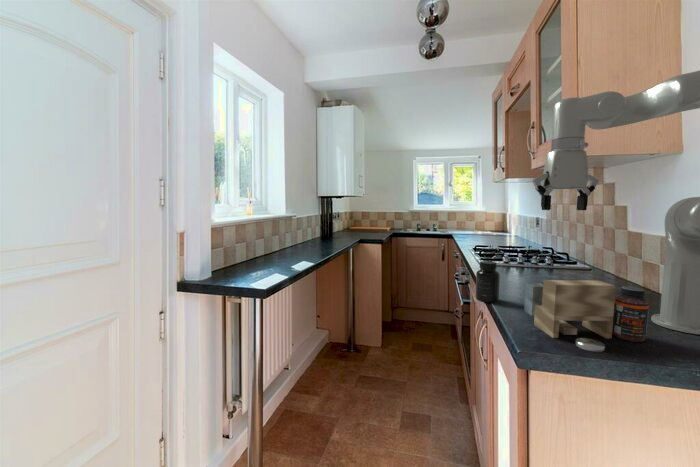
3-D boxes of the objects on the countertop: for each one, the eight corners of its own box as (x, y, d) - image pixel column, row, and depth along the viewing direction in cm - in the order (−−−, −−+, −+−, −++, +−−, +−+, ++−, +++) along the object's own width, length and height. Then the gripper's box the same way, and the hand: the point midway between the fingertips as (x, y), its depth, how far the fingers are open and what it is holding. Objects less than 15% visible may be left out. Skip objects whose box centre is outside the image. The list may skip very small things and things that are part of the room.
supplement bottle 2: (618, 340, 74) (622, 290, 73) (607, 331, 80) (610, 284, 79) (651, 344, 72) (656, 292, 71) (638, 334, 78) (642, 286, 77)
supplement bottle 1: (479, 296, 110) (480, 259, 109) (501, 299, 106) (503, 262, 105) (472, 300, 105) (473, 262, 104) (495, 304, 101) (496, 264, 100)
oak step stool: (587, 325, 83) (590, 277, 82) (611, 338, 75) (615, 285, 74) (534, 325, 83) (536, 277, 82) (552, 337, 75) (555, 285, 74)
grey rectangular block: (538, 311, 94) (540, 283, 94) (579, 334, 77) (581, 300, 77) (524, 311, 94) (525, 283, 94) (561, 334, 77) (563, 300, 77)
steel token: (592, 343, 73) (592, 337, 73) (610, 353, 68) (611, 347, 68) (570, 343, 73) (570, 338, 73) (586, 353, 68) (587, 347, 68)
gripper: (589, 149, 95) (586, 210, 96) (528, 149, 95) (525, 209, 97) (610, 144, 88) (605, 210, 89) (542, 144, 88) (539, 210, 89)
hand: (563, 210), depth 93 cm, fingers open, 9 cm apart
